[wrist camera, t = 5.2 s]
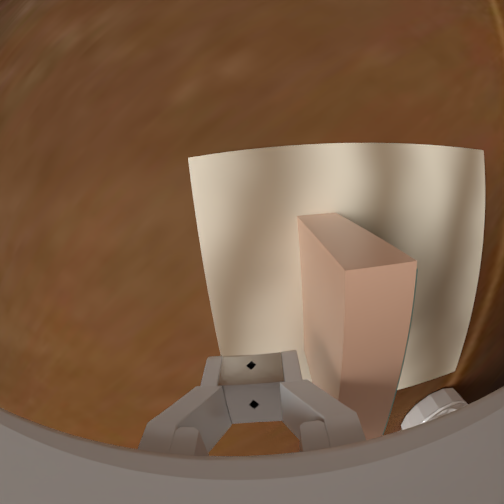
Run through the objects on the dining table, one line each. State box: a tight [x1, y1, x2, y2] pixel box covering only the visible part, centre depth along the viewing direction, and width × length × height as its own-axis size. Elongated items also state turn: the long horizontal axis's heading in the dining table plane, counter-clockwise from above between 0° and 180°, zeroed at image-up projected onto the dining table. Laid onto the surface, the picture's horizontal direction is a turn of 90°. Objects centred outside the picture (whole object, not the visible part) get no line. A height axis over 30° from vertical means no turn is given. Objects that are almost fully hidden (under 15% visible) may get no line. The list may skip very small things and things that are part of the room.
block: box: [297, 213, 418, 440], centre depth 11 cm, size 2×8×8 cm, turn 6°
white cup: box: [401, 388, 468, 430], centre depth 15 cm, size 8×8×10 cm
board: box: [188, 143, 485, 390], centre depth 16 cm, size 18×17×1 cm
